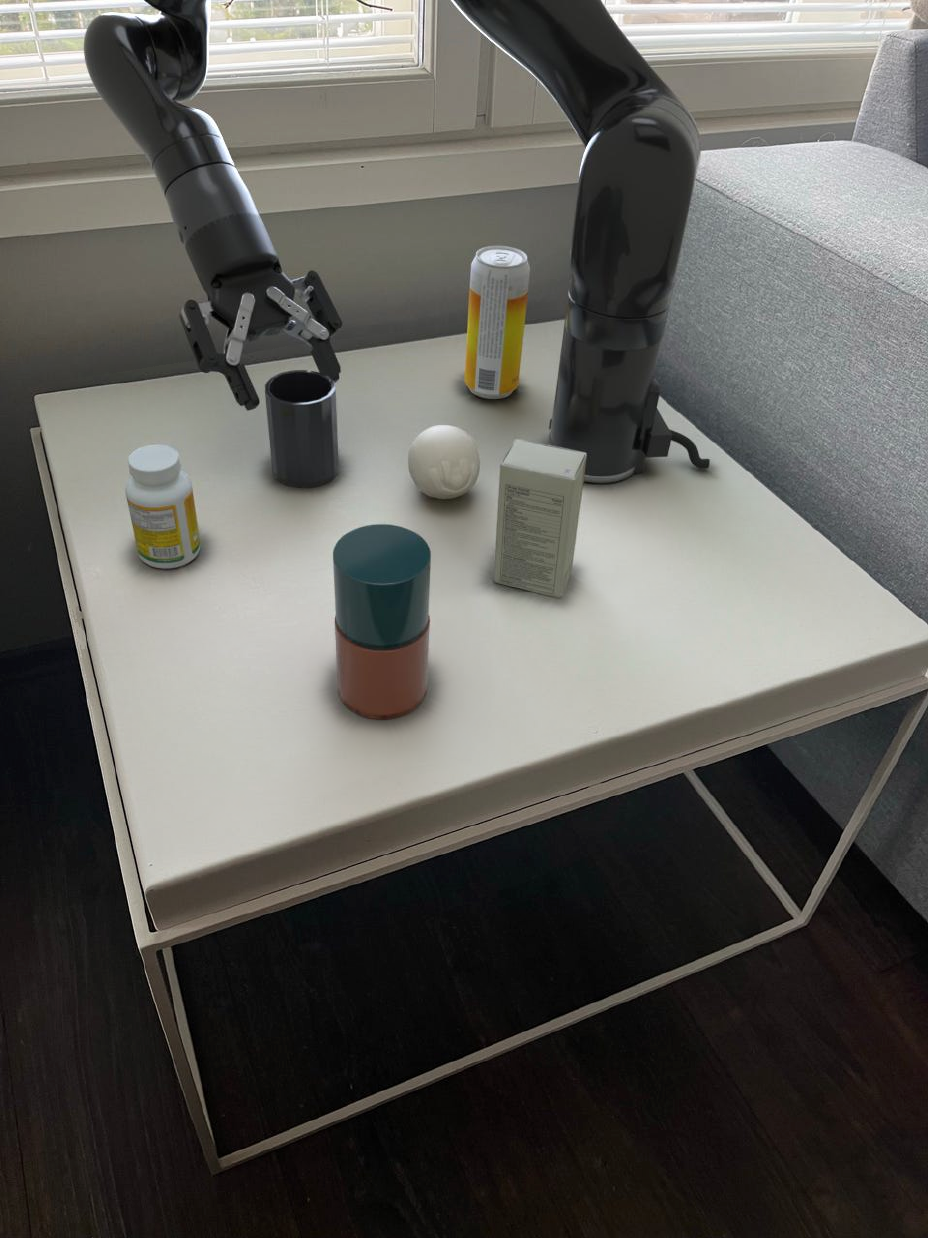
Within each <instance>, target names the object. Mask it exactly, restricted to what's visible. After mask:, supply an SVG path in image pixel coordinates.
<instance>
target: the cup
mask: <svg viewBox="0 0 928 1238" xmlns="http://www.w3.org/2000/svg"><path fill="white" fill-rule="evenodd" d="M336 389H337V388H336V383H335V382H334V381H333V380H332V379H331V378H330V377H329V376H326V375H324V374H322V373H320V372H319V371H314V370H309V369H294V370H288V371H283V372H279V373H277V374H275V375H273V376H271V377H270V378H269V379H268V380H267V382H266V383H265V384H264V396H265V397H264V398H265V409H266V418H267V429H268V439H269V449H270V450H269V451H270V461H271V469H272V475H273V476H274V478H275V479H276V480H277V481H279V482H280V483H282V484H283V485H286V486H289V487H292V488H298V489H299V488H301V489H307V488H309V489H310V488H317V487H320V486H324V485H325V484H327V483H329V482H331V481H333V480H334V478H336V477H337V475H338V473H339V469H340V468H339V467H340V464H339V463H340V461H339V442H338V441H339V437H338V414H337V412H338V411H337V390H336Z"/></svg>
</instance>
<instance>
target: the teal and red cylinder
mask: <svg viewBox="0 0 928 1238" xmlns="http://www.w3.org/2000/svg"><path fill="white" fill-rule="evenodd" d="M431 551H432V550H431V548H430V546H429V544H428V542H427V541H426V539H425V538H423V537H422V535H420V534H418V533H417V532H416V531H414V530H412V529H409V528H407V527H404V526H401V525H398V524H397V525H396V524H391V523H390V524H389V523H375V524H368V525H363V526H359V527H356V528H354V529H352V530H350V531H348V532H346V533H345V534H343V535H342V536H341V537H340V538H339V539H338V540H337V542H336V543H335V545H334V547H333V550H332V566H333V567H332V568H333V588H334V589H333V590H334V606H335V607H334V608H335V609H334V610H335V615H334V638H335V657H336V658H335V659H336V661H335V662H336V679H337V680H336V681H337V692H338V695H339V698H340V700H341V702H342V703H343V704H344V705H345V706H346V707H347V709H349V710H350V711H352V712H353V713H355V714H357V715H359V716H361V717H364V718H368V719H371V720H372V719H373V720H391V719H396V718H397V719H398V718H400V717H403V716H405V715H407V714H410V713H411V712H413V711H414V710H416V709H417V708H418V707H419V706H420V704H422V703H423V702H424V699H425V698H426V695H427V693H428V681H429V680H428V679H429V655H430V654H429V652H430V632H431V631H430V628H431V619H430V593H431V591H430V590H431V571H432V570H431V568H432V567H431V566H432V565H431V564H432V552H431Z"/></svg>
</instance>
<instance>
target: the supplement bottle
mask: <svg viewBox="0 0 928 1238" xmlns="http://www.w3.org/2000/svg"><path fill="white" fill-rule="evenodd" d="M127 464H128V469H129V474H130V476H129V477H128V479H127V480H126V483H125V487H124V491H125V493H124V494H125V498H126V502H127V508H128V512H129V516H130V517H129V518H130V521H131V526H132V530H133V531H132V532H133V535H134V541H135V545H136V550H137V555H138V556H139V558H140V560H141V561H142V562H143V563H145V564H146V565H148V566H150V567H153V568H156V569H163V570H164V569H168V570H169V569H176V568H179V567H182V566H185V565H187V564H189V563H190V562H192V561H193V560H194V559H195V558H196V557H197V556H198V554H199V552H200V550H201V546H202V543H201V537H200V530H199V524H198V518H197V517H198V516H197V510H196V502H195V496H194V489H193V483H192V480H191V478H190V476H189V475H188V474H187V473H186V472H185V471H184V470H183V469H182V463H181V460H180V454H179V453H178V451H177V450H176V449H175V448H173V447H171V446H169V445H165V444H148V445H147V444H146V445H144V446H141V447H137V448H136V449H135V450H133V451H132V452H131V453H130V454H129V456H128V458H127Z"/></svg>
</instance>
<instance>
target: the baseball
mask: <svg viewBox="0 0 928 1238" xmlns="http://www.w3.org/2000/svg"><path fill="white" fill-rule="evenodd" d="M407 465H408V472H409V475H410V478H411V480H412V482H413V484H414V485H415V487H416V488H417V489H418V490H419V491H420V492H422V493H423V494H425V495H426V496H428V497H431V498H434V499H438V500H451V499H455V498H458V497H460V496H462V495H464V494H466V493H467V492H468V491H469V490H471V489H472V488H473V486H475V484H476V482H477V480H478V477H479V475H480V471H481V455H480V451H479V447H478V445H477V443H476V441H475V440H474V439H473V437H471V435H470V434H468V432H466V431H465V430H464V429H461V428H460V427H457V426H454V425H448V424H438V425H433V426H430V427H428V428H426V429H424V430H423V431H422V432H420V433H419V434H418V435H417V436H416V437H415V439H414V440H413V441H412V442H411V445H410V447H409V449H408V453H407Z"/></svg>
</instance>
